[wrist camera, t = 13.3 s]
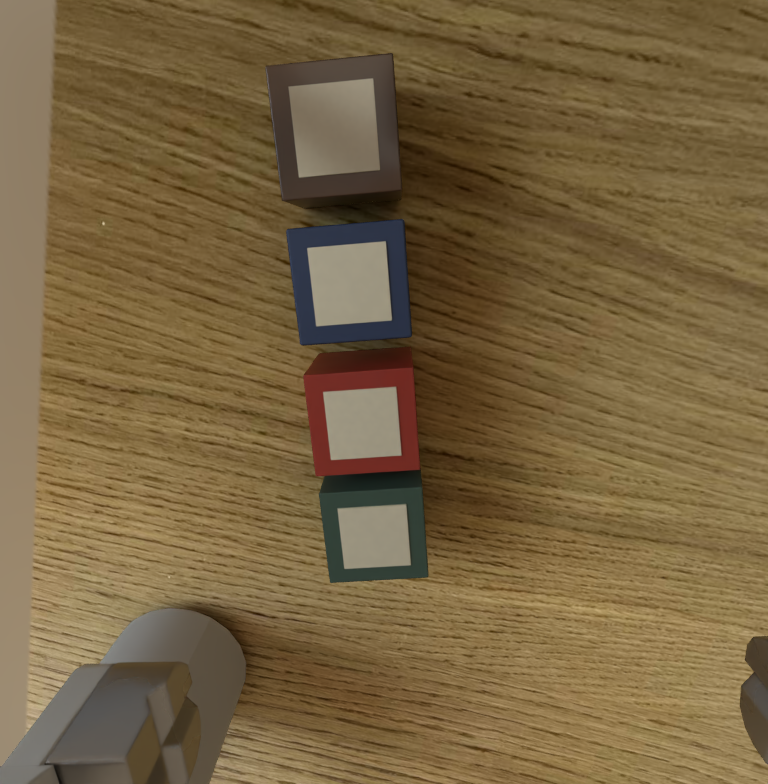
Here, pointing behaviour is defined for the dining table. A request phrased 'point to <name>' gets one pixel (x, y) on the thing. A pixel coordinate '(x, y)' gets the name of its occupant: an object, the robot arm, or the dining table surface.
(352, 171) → the walnut letter block
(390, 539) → the slate green letter block
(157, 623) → the can
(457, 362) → the dining table surface
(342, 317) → the navy letter block
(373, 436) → the red letter block
